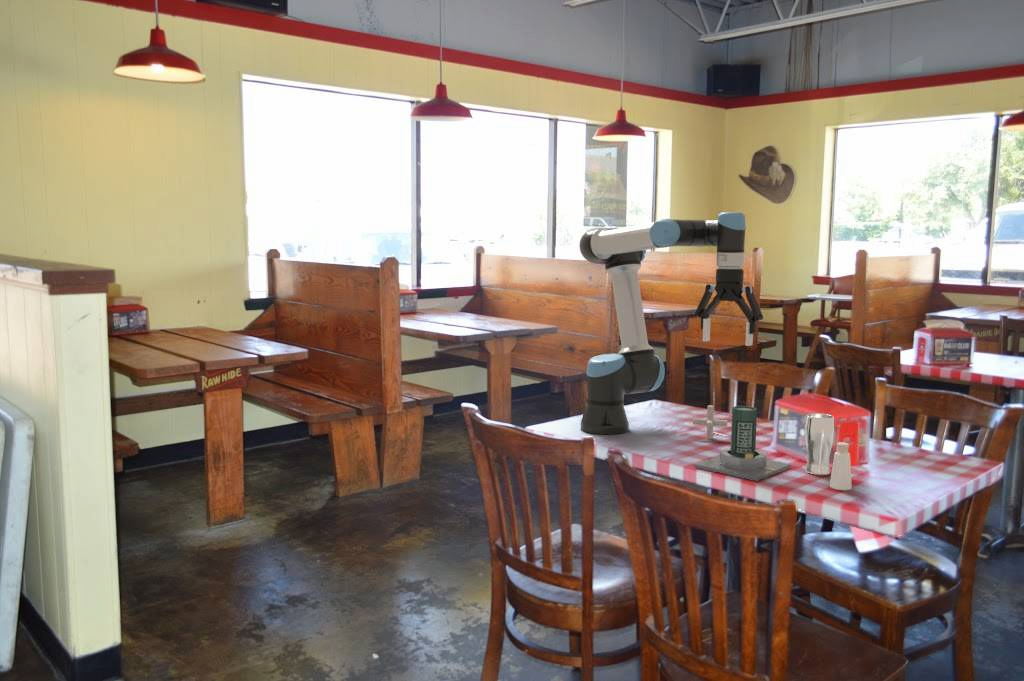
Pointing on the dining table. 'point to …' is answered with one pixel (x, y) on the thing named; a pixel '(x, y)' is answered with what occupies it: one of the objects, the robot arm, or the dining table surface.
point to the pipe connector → (710, 422)
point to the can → (743, 430)
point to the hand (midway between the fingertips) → (727, 343)
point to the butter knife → (717, 433)
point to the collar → (743, 465)
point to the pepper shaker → (841, 468)
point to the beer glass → (819, 442)
